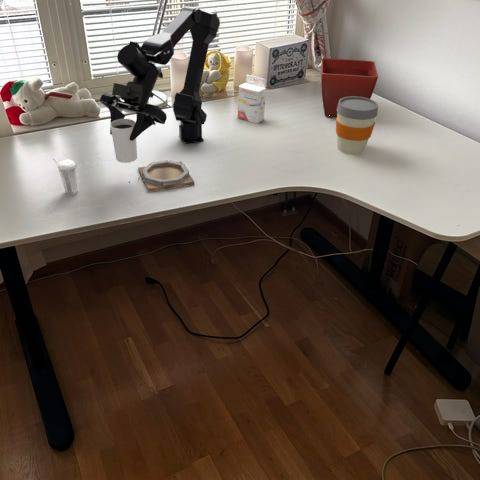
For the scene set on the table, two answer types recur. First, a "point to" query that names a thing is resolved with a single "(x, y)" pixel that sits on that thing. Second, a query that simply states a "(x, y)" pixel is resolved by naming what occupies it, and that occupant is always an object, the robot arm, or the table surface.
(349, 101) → the reusable coffee cup
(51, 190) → the table surface
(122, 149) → the white cup
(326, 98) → the plant pot
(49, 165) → the table surface
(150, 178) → the ring board
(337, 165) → the table surface
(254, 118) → the ink cartridge box
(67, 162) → the milkshake
